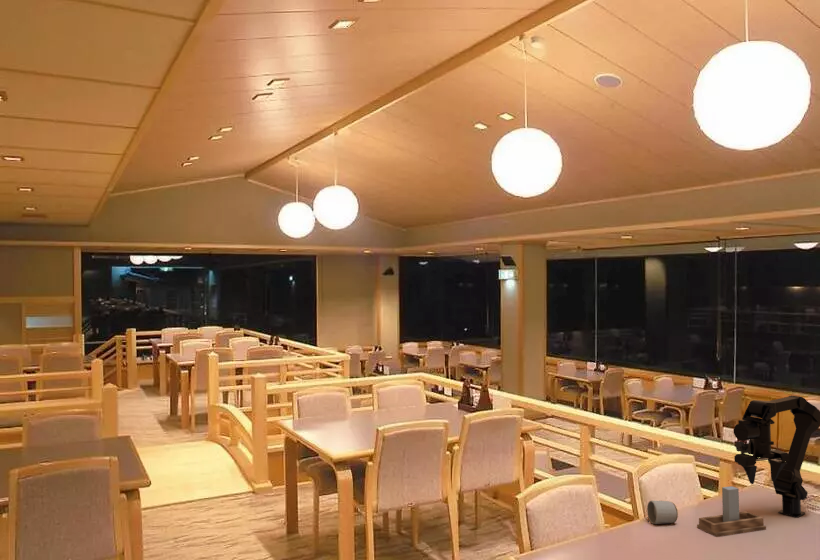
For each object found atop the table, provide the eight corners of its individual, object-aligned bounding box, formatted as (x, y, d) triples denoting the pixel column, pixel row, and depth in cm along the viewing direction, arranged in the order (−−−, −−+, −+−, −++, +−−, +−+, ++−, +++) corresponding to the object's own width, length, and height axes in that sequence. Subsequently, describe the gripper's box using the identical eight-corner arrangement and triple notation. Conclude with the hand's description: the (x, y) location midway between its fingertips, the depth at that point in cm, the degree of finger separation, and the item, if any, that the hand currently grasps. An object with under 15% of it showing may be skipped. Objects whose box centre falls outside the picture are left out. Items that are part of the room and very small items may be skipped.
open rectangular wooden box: (745, 520, 226) (745, 510, 226) (766, 529, 218) (765, 518, 218) (697, 527, 221) (696, 517, 221) (716, 536, 212) (716, 526, 212)
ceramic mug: (679, 525, 222) (678, 503, 223) (656, 527, 222) (656, 504, 222) (664, 515, 233) (664, 494, 233) (642, 517, 232) (642, 495, 233)
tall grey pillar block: (732, 523, 221) (731, 486, 221) (739, 526, 218) (738, 488, 218) (723, 524, 220) (722, 487, 220) (729, 527, 217) (728, 490, 217)
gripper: (764, 430, 237) (765, 473, 237) (722, 434, 232) (723, 478, 232) (790, 437, 226) (791, 482, 226) (746, 441, 221) (747, 487, 221)
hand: (762, 482), depth 226 cm, fingers open, 9 cm apart
